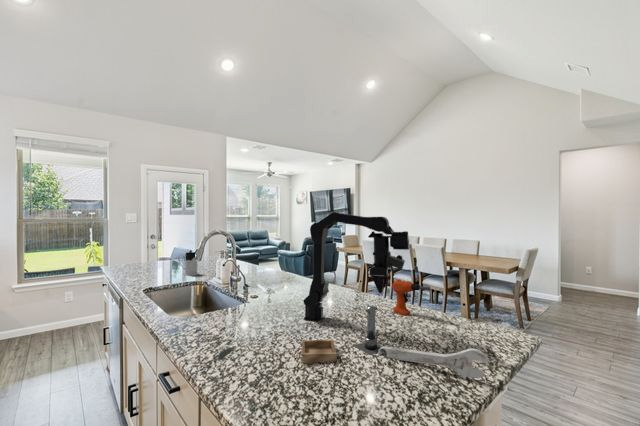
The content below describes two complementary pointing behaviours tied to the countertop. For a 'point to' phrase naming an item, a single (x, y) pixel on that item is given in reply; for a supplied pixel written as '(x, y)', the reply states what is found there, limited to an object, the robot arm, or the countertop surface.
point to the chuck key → (371, 329)
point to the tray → (318, 351)
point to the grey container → (190, 264)
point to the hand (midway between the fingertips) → (382, 290)
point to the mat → (370, 352)
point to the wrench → (442, 359)
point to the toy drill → (404, 295)
